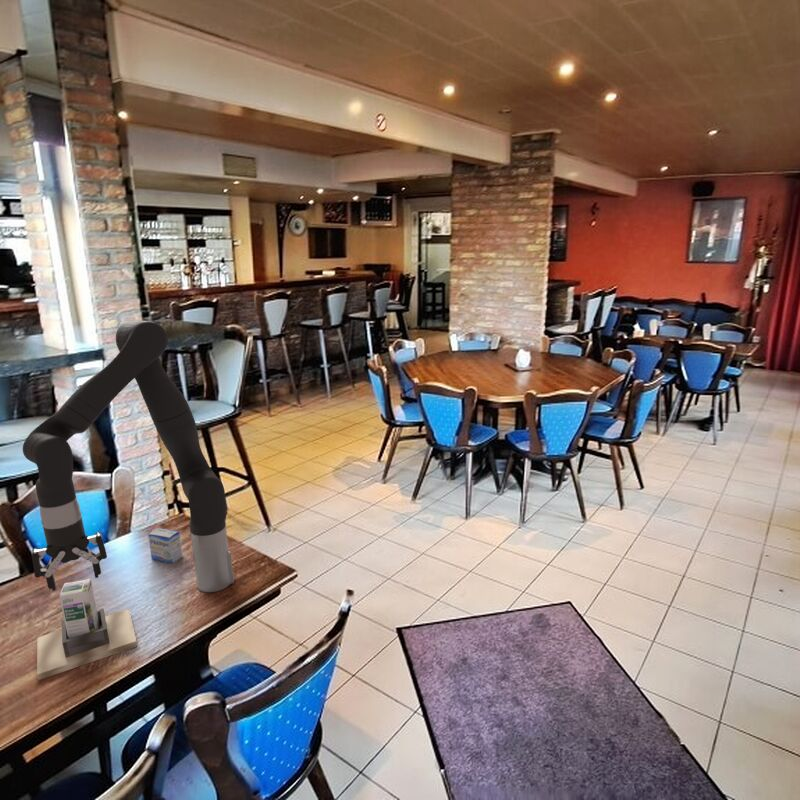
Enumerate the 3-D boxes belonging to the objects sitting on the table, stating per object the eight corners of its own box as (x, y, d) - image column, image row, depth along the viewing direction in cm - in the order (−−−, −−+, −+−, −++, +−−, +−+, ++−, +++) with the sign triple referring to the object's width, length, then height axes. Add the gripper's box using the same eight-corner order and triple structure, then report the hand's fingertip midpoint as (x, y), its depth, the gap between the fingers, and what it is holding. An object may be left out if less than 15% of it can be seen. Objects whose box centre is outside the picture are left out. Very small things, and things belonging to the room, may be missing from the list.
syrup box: (69, 650, 130) (58, 596, 126) (74, 634, 135) (63, 581, 131) (97, 644, 132) (86, 591, 128) (101, 628, 137) (91, 576, 133)
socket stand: (129, 614, 145) (126, 595, 143) (137, 646, 133) (134, 626, 132) (38, 642, 135) (34, 623, 133) (38, 680, 123) (33, 659, 122)
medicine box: (151, 559, 169) (147, 534, 167) (161, 552, 173) (157, 527, 171) (173, 563, 167) (169, 537, 164) (183, 556, 171) (179, 530, 169)
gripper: (96, 504, 131) (108, 565, 136) (24, 521, 124) (39, 584, 129) (99, 517, 125) (111, 580, 130) (23, 535, 118) (39, 601, 122)
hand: (75, 582), depth 129 cm, fingers open, 8 cm apart
